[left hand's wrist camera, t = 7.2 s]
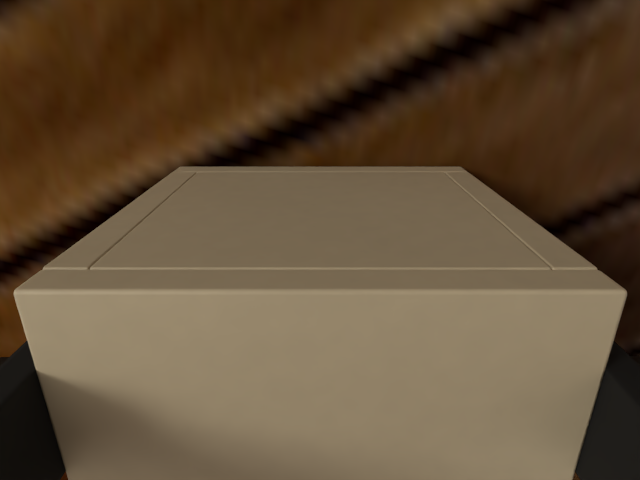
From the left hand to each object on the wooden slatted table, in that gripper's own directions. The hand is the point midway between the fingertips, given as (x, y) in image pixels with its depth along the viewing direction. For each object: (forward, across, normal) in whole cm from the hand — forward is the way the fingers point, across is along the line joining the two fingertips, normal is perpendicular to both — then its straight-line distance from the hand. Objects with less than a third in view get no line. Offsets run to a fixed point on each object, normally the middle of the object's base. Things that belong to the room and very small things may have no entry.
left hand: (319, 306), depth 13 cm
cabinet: (+5, 0, -5) cm, 8 cm away
